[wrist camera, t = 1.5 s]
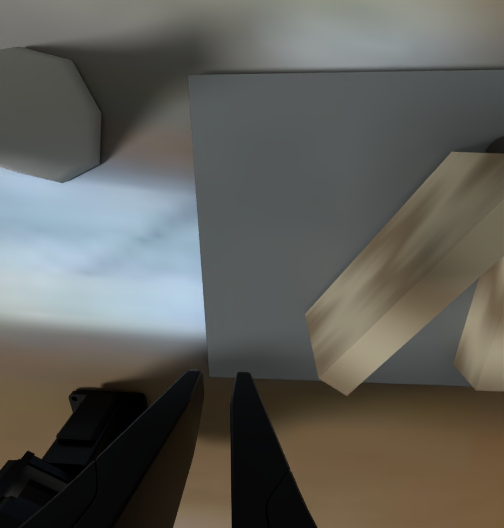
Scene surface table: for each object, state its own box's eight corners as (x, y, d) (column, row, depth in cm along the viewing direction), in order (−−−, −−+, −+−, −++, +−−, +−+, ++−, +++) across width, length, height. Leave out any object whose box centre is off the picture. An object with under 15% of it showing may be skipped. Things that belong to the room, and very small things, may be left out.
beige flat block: (451, 151, 16) (548, 155, 10) (475, 171, 16) (581, 185, 11) (304, 314, 20) (318, 378, 15) (325, 327, 20) (346, 396, 15)
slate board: (470, 376, 23) (478, 386, 22) (211, 367, 24) (209, 376, 23) (573, 72, 15) (592, 68, 15) (192, 78, 17) (187, 74, 16)
